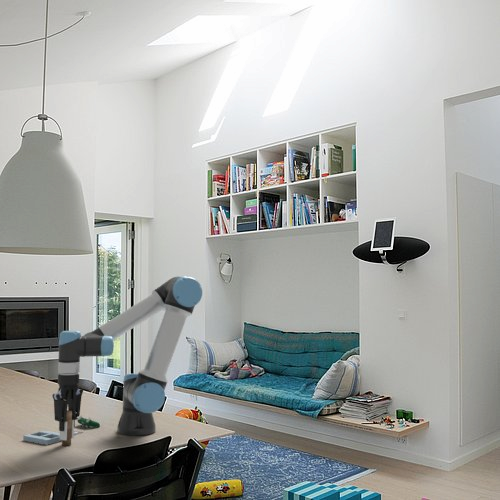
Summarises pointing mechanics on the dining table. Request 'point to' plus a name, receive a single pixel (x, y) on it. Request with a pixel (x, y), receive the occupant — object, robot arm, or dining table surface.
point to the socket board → (42, 437)
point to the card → (77, 432)
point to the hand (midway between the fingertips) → (66, 438)
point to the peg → (68, 428)
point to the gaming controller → (87, 422)
